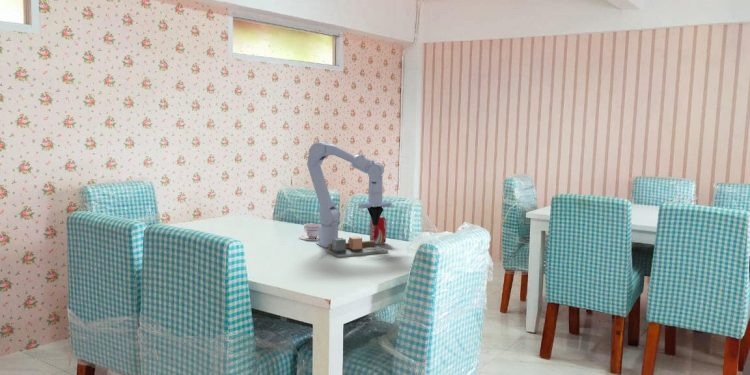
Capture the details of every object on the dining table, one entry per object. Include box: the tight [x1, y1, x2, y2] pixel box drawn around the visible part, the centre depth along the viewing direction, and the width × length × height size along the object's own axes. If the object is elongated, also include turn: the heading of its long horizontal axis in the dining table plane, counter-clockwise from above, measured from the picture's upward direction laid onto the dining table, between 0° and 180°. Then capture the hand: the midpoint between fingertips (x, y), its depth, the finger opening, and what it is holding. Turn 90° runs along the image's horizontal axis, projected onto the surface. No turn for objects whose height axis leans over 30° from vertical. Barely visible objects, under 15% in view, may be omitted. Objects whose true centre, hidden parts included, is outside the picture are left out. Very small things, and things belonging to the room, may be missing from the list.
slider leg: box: [347, 236, 363, 251], centre depth 258 cm, size 7×4×5 cm, turn 27°
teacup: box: [298, 222, 321, 241], centre depth 287 cm, size 12×12×6 cm
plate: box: [325, 245, 389, 258], centre depth 258 cm, size 12×22×1 cm, turn 117°
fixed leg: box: [332, 237, 347, 253], centre depth 255 cm, size 7×4×5 cm, turn 27°
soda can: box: [369, 214, 387, 246], centre depth 276 cm, size 7×7×12 cm
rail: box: [328, 240, 375, 250], centre depth 262 cm, size 2×20×2 cm, turn 117°
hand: (375, 224), depth 265 cm, fingers closed
